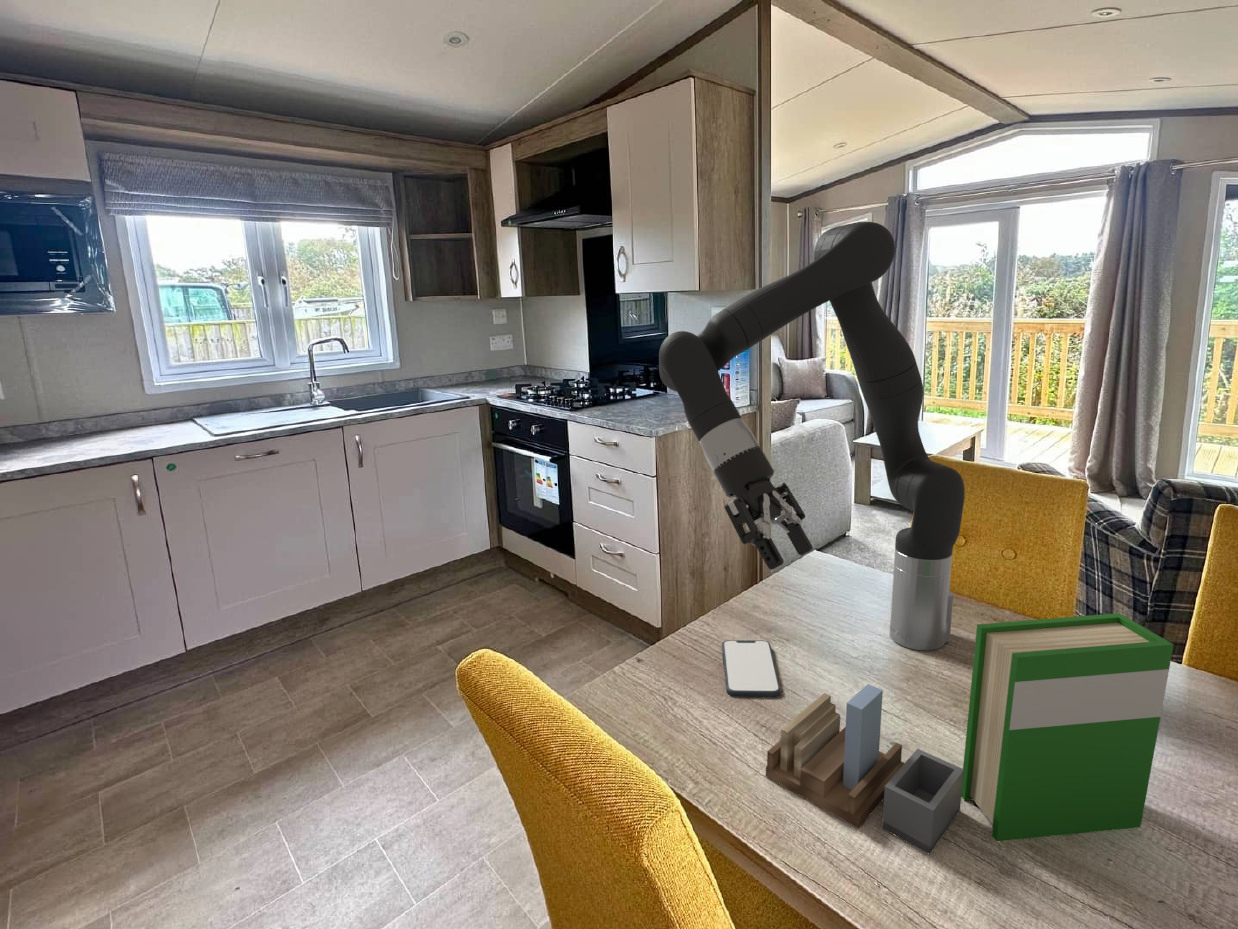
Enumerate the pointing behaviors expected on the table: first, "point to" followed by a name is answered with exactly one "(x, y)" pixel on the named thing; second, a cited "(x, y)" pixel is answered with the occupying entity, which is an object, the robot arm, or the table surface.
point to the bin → (922, 800)
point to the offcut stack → (808, 734)
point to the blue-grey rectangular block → (862, 735)
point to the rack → (837, 780)
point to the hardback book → (1063, 724)
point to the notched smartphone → (750, 669)
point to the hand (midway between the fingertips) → (792, 559)
